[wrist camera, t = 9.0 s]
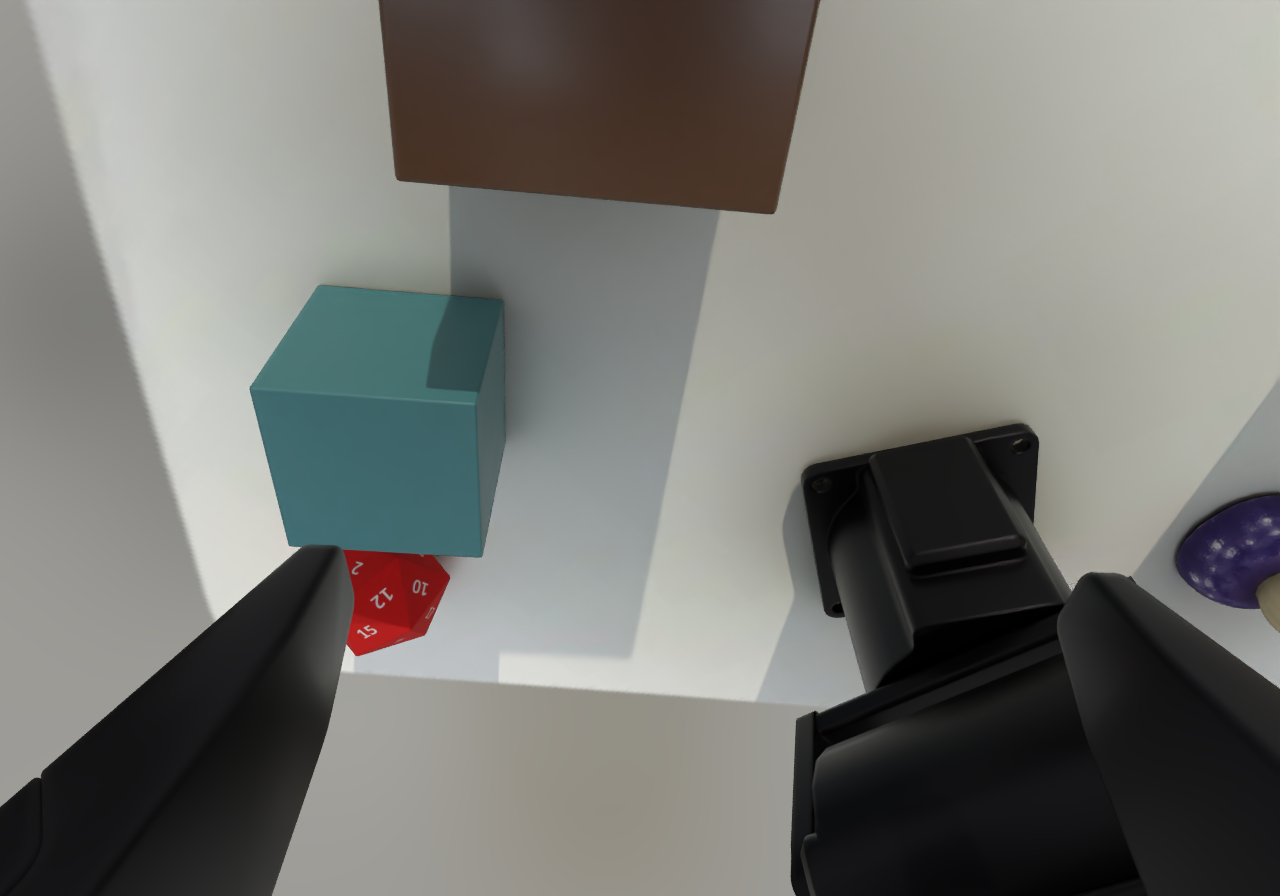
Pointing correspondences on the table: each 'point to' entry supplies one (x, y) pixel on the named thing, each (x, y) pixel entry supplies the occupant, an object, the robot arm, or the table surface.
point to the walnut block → (598, 96)
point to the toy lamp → (1237, 557)
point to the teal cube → (386, 421)
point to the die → (392, 597)
